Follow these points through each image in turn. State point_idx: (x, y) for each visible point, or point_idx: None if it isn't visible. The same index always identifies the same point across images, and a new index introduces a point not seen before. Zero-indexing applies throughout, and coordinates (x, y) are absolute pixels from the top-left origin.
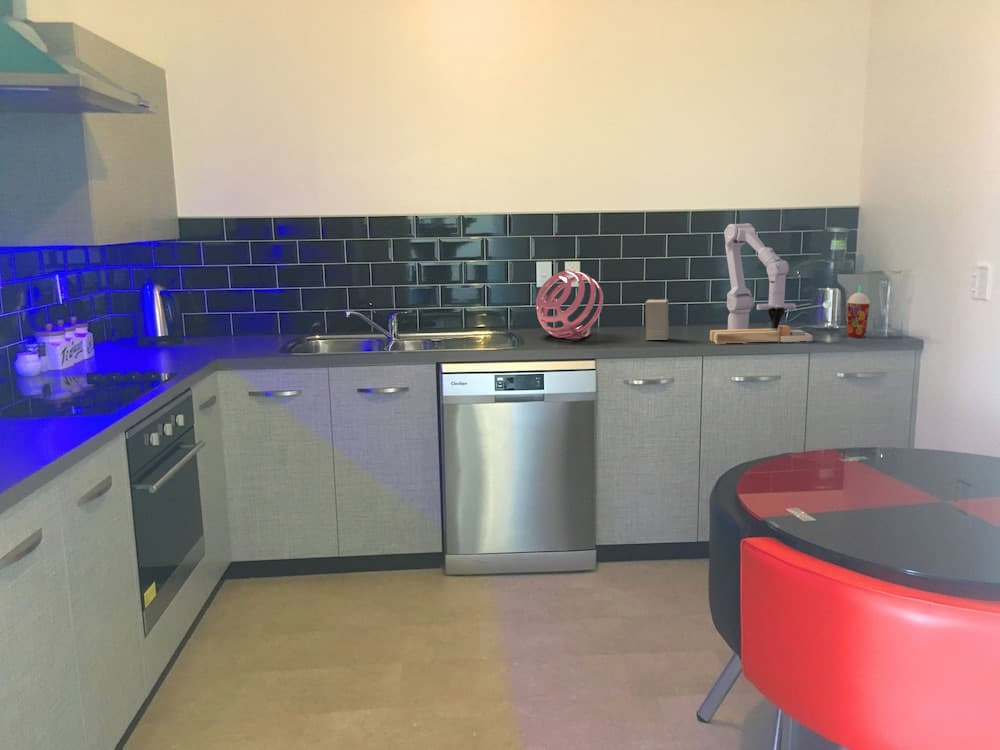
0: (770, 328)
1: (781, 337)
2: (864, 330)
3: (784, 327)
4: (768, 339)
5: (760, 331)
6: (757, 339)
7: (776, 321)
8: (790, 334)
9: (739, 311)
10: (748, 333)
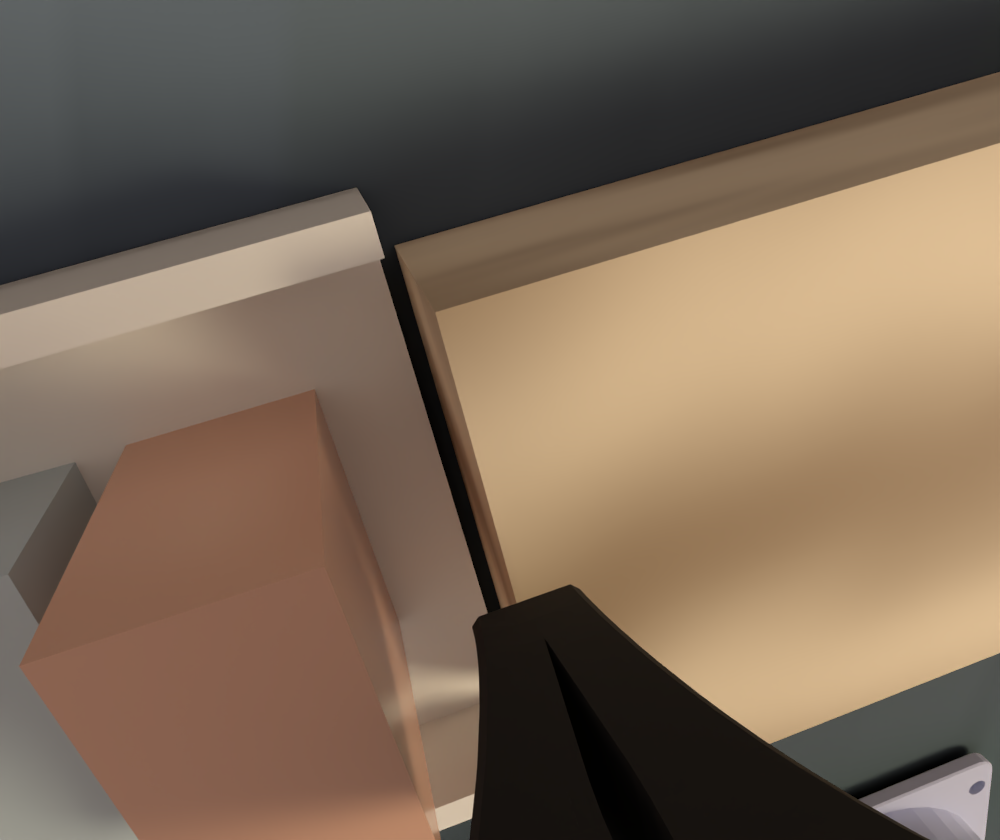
0: None
1: (354, 211)
2: None
3: (262, 579)
4: (667, 186)
5: (931, 352)
6: (923, 111)
7: (618, 734)
8: None
9: None
10: None
